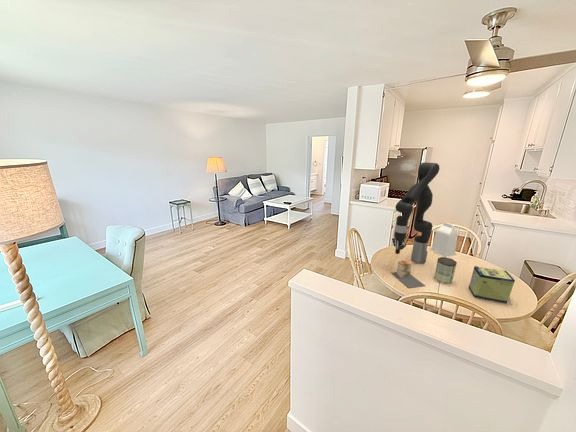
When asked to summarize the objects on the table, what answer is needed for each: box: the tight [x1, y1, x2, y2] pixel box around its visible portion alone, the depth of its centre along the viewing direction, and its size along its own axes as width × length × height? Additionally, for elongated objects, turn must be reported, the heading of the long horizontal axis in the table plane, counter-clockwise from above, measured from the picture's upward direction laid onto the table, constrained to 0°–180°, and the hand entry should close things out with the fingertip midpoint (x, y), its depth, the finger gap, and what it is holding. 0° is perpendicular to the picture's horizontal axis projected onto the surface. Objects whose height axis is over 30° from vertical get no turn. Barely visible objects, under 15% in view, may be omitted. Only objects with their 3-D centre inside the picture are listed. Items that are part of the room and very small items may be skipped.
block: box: [396, 259, 413, 277], centre depth 152 cm, size 7×4×10 cm, turn 99°
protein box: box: [468, 265, 516, 304], centre depth 130 cm, size 10×16×16 cm
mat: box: [391, 271, 426, 289], centre depth 149 cm, size 12×18×1 cm, turn 10°
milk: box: [430, 222, 459, 258], centre depth 180 cm, size 12×12×26 cm
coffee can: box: [433, 256, 458, 285], centre depth 146 cm, size 10×10×14 cm
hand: (397, 253), depth 158 cm, fingers closed
